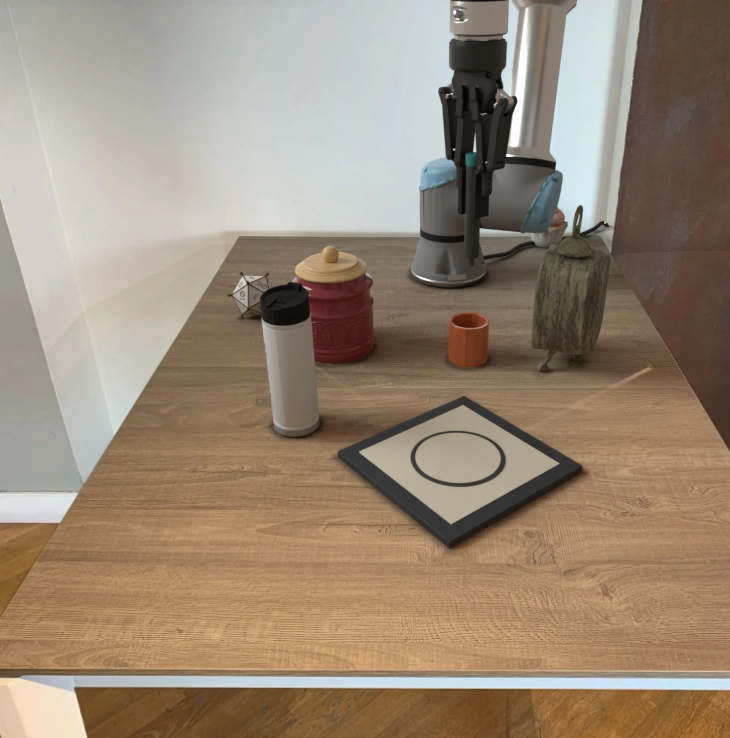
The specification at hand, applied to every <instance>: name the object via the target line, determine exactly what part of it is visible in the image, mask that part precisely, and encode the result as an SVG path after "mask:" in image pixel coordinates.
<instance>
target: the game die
mask: <svg viewBox="0 0 730 738" xmlns="http://www.w3.org/2000/svg"><path fill="white" fill-rule="evenodd" d="M239 275H240V276H241V277H240V279H239V280H238V282H237V284H236V286H235V287H234V289H233V291H232V293H227V294H226V296H227V297H228V298H232V299H233V301H234V303H235V305H236V306H237V308H238V310H239V312H240V313H241V314H240V316H239V319H243V318H244V316H262V315H261V313H262V312H261V306H260V297H261V295H262V294H263V293H264V292H265V291H266V290H268V289H270V288H272V287H273V285H272V283H271V282H270V279H269V278H268V277H269V275H270V272H269V271H267V272H266V273H265V275H258V274H257V275H255V274H254V275H253V274H251V275H249V274H244V273H243V271H241V270H240V271H239Z"/></svg>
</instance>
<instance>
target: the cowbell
mask: <svg viewBox="0 0 730 738" xmlns="http://www.w3.org/2000/svg"><path fill="white" fill-rule="evenodd" d="M583 214H584V206H583V205H582V204H580V205H578V206H577V207H576V208H575V212H574V215H573V219H572V234H571V235H572V236H571V235H567V236H568V237H566V236H565V237H566V238H565V239H563V240H562V241H561V242H560V244H559V245H555V244H551V245H550V247H549V248H547V249H546V250H545V253H544V255H543V257H542V259H541V261H540V264H539V267H538V270H537V276H536V282H535V283H536V284H535V292H534V303H533V311H532V312H533V313H532V314H533V315H532V328H531V332H532V333H531V349H537V350H543V351H548V352H547V355H546V357H545V359H544V361H543V362H540V363H538V365H537V371H538V372H539V373H543V374H544V373H547V372H548V370H549V365H548V363H550V361H551V359H553V357H554V355H556V354H557V353H563V354H570V355H571V354H572V355H573V361H575V362H578V363H580V362H583V361H584V354H587V353H590V352H593V351H595V349H596V345H597V343H598V341H599V336H600V332H601V329H602V326H603V325H602V324H603V319H604V313H605V306H606V299H607V291H608V283H609V276H610V267H611V258H612V257H611V256H610V255H608V254H607V253H606V252H604V251H602V250H601V249H599V248H592V246H591V244H590V242H589V240H588V239H587V238H585V237H584V236H583V237H581V236H580V233H581V228H582V222H583V216H584V215H583Z"/></svg>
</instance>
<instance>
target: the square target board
mask: <svg viewBox="0 0 730 738" xmlns="http://www.w3.org/2000/svg"><path fill="white" fill-rule="evenodd" d="M337 458H338V459H339V460H341V461H342V462H343V463H344V464H345V465H346V466H347V467H349V468H350V469H352V470H353V471H354V472H355V473H357V474H358V475H359V476H360V477H361V478H363V479H364V480H365V481H366V482H368V483H369V485H371V486H372V487H374V488H375V489H376V490H377V491H379V492H380V493H381V494H382V495H383V496H384V497H385V498H387V499H388V500H390V502H392V503H393V504H394V505H395V506H397V507H398V508H399V509H400V510H401V511H403V512H404V513H405V514H406V515H408V516H409V517H410V518H411V519H413V520H414V521H415V522H416V523H417V524H418V525H420V526H421V527H422V528H423V529H425V530H426V531H427V532H428V533H430V534H431V535H432V536H433V537H434V538H436V539H437V540H438V541H439V542H441V543H442V544H443V545H444V546H445V547H447V548H448V549H452V548H453V547H455V546H457V545H458V544H459V543H462V542H463V541H465V540H467V539H468V538H470V537H472V536H473V535H475V534H477V533H478V532H480V531H482V530H484V529H485V528H487V527H489V526H491V525H493V524H495V523H496V522H498V521H499V520H501V519H503V518H505V517H506V516H508V515H510V514H511V513H513V512H515V511H516V510H518V509H520V508H522V507H523V506H525V505H527V504H529V503H530V502H532V501H534V500H535V499H537V498H539V497H541V496H542V495H544V494H546V493H548V492H549V491H551V490H553V489H555V488H556V487H558V486H560V485H562V484H563V483H565V482H566V481H568V480H570V479H572V478H573V477H575V476H576V475H578V474H579V475H580V474H581V473H582V471H583V465H582V464H581V463H578V462H577V461H575V460H574V459H572V458H570V457H568V456H567V455H565V454H564V453H562V452H560V451H558V450H557V449H555V448H553V447H551V446H550V445H548V444H547V443H545V442H543V441H542V440H540V439H538V438H536V436H533V435H531V434H530V433H528V432H526V431H524V430H523V429H521V428H519V427H518V426H517V425H514V424H513V423H511V422H510V421H508V420H506V419H504V418H502V417H501V416H499V415H498V414H496V413H494V412H493V411H490V410H489V409H487V408H486V407H484V406H483V405H481V404H479V403H477V402H476V401H473V399H471V398H468V397H467V396H466V395H462V396H460V397H458V398H455V399H453V400H451V401H449V402H447V403H444V404H442V405H439V406H438V407H435V408H432V409H431V410H428V411H426V412H423V413H421V414H419V415H417V416H414V417H411V418H410V419H408V420H405V421H403V422H401V423H398V424H395V425H394V426H392V427H389V428H387V429H385V430H383V431H380V432H377V433H376V434H373V435H372V436H369V437H366V438H364V439H362V440H360V441H357V442H356V443H352V444H351V445H348V446H346V447H344V448H342V449H340V450H339V449H338V451H337Z"/></svg>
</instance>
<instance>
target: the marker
mask: <svg viewBox="0 0 730 738" xmlns="http://www.w3.org/2000/svg"><path fill="white" fill-rule="evenodd" d="M475 169H477V161H476V151H473V152H469V153H467V154H466V199H465V240H464V256H465V257H466V258H468V266H474V258H477V257H479V242H480V241H481V240H480V239H481V238H480V237H481V236H480V235H481V228H480V218H478V219H472V218H471V205H472V173H473V170H475Z"/></svg>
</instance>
